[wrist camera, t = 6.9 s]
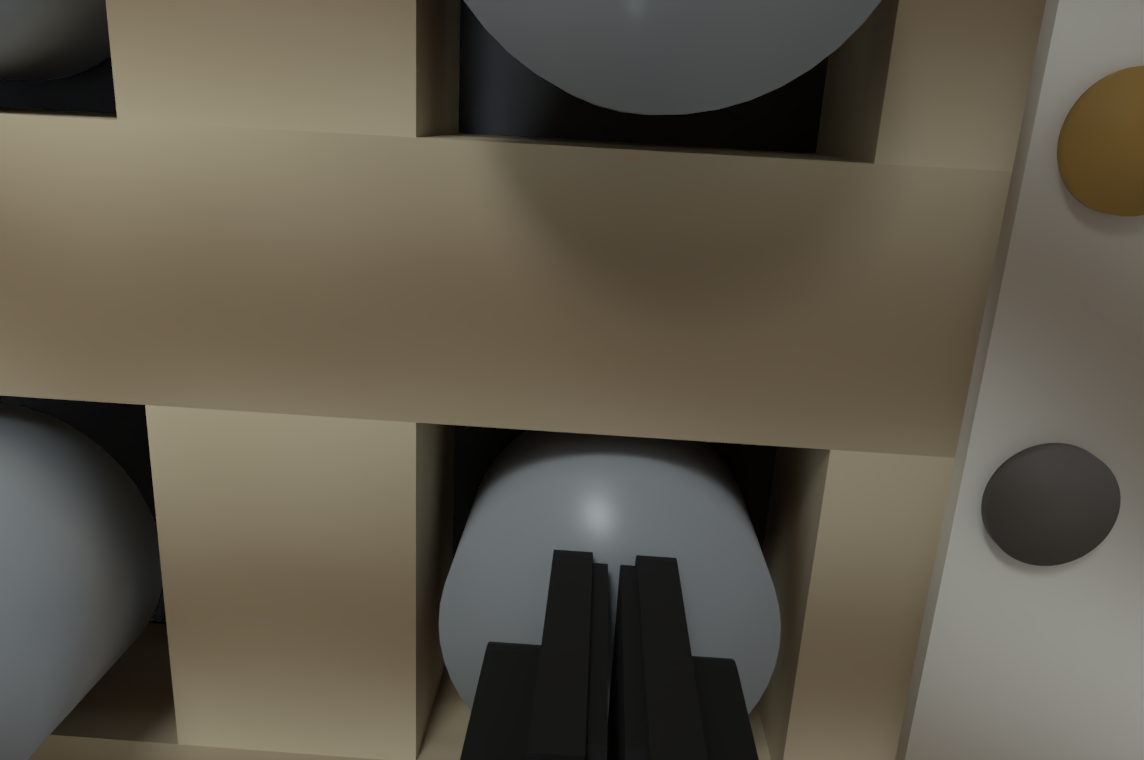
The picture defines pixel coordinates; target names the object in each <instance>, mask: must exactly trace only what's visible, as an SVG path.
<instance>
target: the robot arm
mask: <svg viewBox="0 0 1144 760" xmlns="http://www.w3.org/2000/svg"><path fill="white" fill-rule="evenodd" d="M460 760H759V758H758V754H757V750H756V745H755V741H754V737H753V733H752V728H751V724H750V720H749V716H748V711H747V707H746V703H745V699H744V694H743V690H742V686H741V682H740V677H739V673H738V669H737V666H736V663H735V661H734V660H733V659H729V658H715V657H701V656H692V654H691V647H690V641H689V634H688V628H687V621H686V615H685V608H684V602H683V596H682V589H681V583H680V576H679V570H678V563H677V559H676V558H671V557H656V556H642V555H636V560H635V566H633V565H620V571H619V584H618V596H617V609H616V622H615V635H614V647H613V660H612V673H611V686H610V699H609V711H608V564H604V563H593V552H584V551H569V550H554V552H553V559H552V567H551V574H550V582H549V590H548V597H547V605H546V613H545V620H544V628H543V636H542V643H541V645H533V644H519V643H505V642H491V641H489V642H488V644H487V647H486V651H485V655H484V659H483V664H482V668H481V672H480V676H479V681H478V685H477V689H476V693H475V698H474V702H473V706H472V710H471V715H470V719H469V723H468V727H467V732H466V736H465V740H464V744H463V749H462V753H461V757H460Z"/></svg>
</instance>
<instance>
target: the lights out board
mask: <svg viewBox="0 0 1144 760" xmlns="http://www.w3.org/2000/svg"><path fill="white" fill-rule="evenodd" d="M460 1H461V0H106V10H107V20H108V31H109V41H110V51H111V61H112V71H113V82H114V92H115V102H116V112H117V113H99V112H82V111H64V110H47V109H29V108H12V107H0V395H1V396H16V397H32V398H47V399H62V400H78V401H93V402H108V403H123V404H139V405H145V409H146V420H147V430H148V440H149V450H150V461H151V471H152V481H153V491H154V502H155V512H156V522H157V532H158V543H159V553H160V563H161V573H162V583H163V594H164V604H165V614H166V624H157V623H148V625H147V626H146V627H145V629H144V630H143V632H142V633H141V635H140V636H139V637H138V638H137V639H136V640H135V641H134V642H133V644H132V645H131V646H130V647H129V648H128V649H127V650H126V651H125V652H124V653H123V655H122V656H121V657H120V658H119V659H118V660H117V661H116V662H115V663H114V665H113V666H112V667H111V668H110V669H109V670H108V671H107V672H106V673H105V674H104V676H103V677H102V678H101V679H100V680H99V681H98V682H97V683H96V684H95V685H94V687H93V688H92V689H91V690H90V691H89V692H88V693H87V694H86V695H85V697H84V698H83V699H82V700H81V701H80V702H79V703H78V704H77V705H76V706H75V708H74V709H73V710H72V711H71V712H70V713H69V714H68V715H67V716H66V717H65V719H64V720H63V721H62V722H61V723H60V724H59V725H58V726H57V727H56V728H55V730H54V731H53V732H52V733H51V734H50V735H49V736H48V737H47V738H46V740H45V741H44V742H43V743H42V744H41V745H40V746H39V747H38V748H37V749H36V751H35V752H34V753H33V754H32V755H31V756H30V757H29V758H28V759H27V760H460V757H461V753H462V749H463V744H464V740H465V736H466V732H467V727H468V723H469V719H470V715H471V711H470V709H469V708H468V706H467V705H466V704H465V702H464V701H463V700H462V698H461V697H460V695H459V693H458V692H457V690H456V688H455V686H454V684H453V682H452V680H451V678H450V676H449V673H448V670H447V668H446V665H445V662H444V659H443V654H442V649H441V645H440V636H439V612H440V602H441V598H442V594H443V589H444V585H445V582H446V579H447V576H448V574H449V571H450V568H451V565H452V559H453V489H454V425H460V426H476V427H491V428H506V429H521V430H537V431H552V432H567V433H583V434H598V435H613V436H629V437H644V438H659V439H675V440H690V441H705V442H720V443H736V444H751V445H766V446H777V448H776V455H775V463H774V470H773V478H772V486H771V493H770V501H769V508H768V516H767V523H766V531H765V538H764V546H763V556H764V559H765V562H766V565H767V568H768V571H769V573H770V576H771V579H772V582H773V585H774V588H775V592H776V596H777V600H778V604H779V611H780V622H781V633H780V647H779V652H778V656H777V661H776V665H775V668H774V671H773V673H772V676H771V678H770V681H769V684H768V686H767V687H766V689H765V691H764V693H763V694H762V696H761V698H760V700H759V702H758V703H757V704H756V705H755V707H754V708H753V709H752V711H751V712H750V713H749V715H748V716H749V720H750V724H751V728H752V733H753V737H754V741H755V745H756V750H757V754H758V758H759V760H1144V0H881V2H880V3H879V4H878V5H877V7H876V8H875V9H874V10H873V12H872V13H871V14H870V16H869V17H868V18H867V19H866V21H865V22H864V23H863V24H862V25H861V26H860V27H859V28H858V29H857V30H856V31H855V32H854V33H853V34H852V35H851V36H850V37H849V38H848V39H847V40H846V41H845V42H844V43H843V44H842V45H841V46H840V47H839V48H837V49H836V50H835V51H834V52H832V53H831V54H830V55H829V56H828V64H827V71H826V79H825V86H824V94H823V101H822V109H821V117H820V124H819V132H818V139H817V147H816V153H802V152H784V151H767V150H749V149H731V148H714V147H696V146H679V145H661V144H644V143H626V142H609V141H591V140H573V139H556V138H538V137H521V136H503V135H486V134H468V133H459V71H460Z"/></svg>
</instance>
